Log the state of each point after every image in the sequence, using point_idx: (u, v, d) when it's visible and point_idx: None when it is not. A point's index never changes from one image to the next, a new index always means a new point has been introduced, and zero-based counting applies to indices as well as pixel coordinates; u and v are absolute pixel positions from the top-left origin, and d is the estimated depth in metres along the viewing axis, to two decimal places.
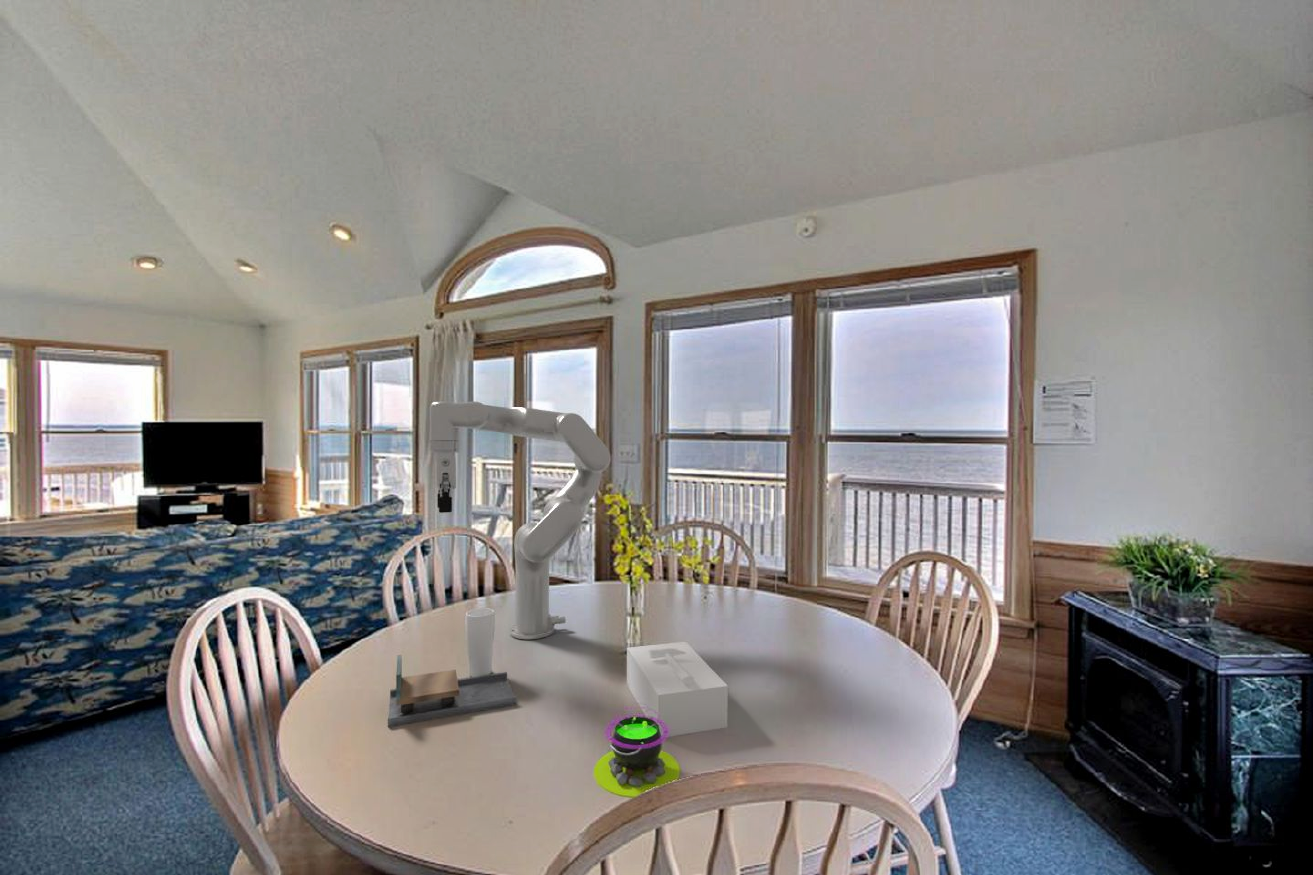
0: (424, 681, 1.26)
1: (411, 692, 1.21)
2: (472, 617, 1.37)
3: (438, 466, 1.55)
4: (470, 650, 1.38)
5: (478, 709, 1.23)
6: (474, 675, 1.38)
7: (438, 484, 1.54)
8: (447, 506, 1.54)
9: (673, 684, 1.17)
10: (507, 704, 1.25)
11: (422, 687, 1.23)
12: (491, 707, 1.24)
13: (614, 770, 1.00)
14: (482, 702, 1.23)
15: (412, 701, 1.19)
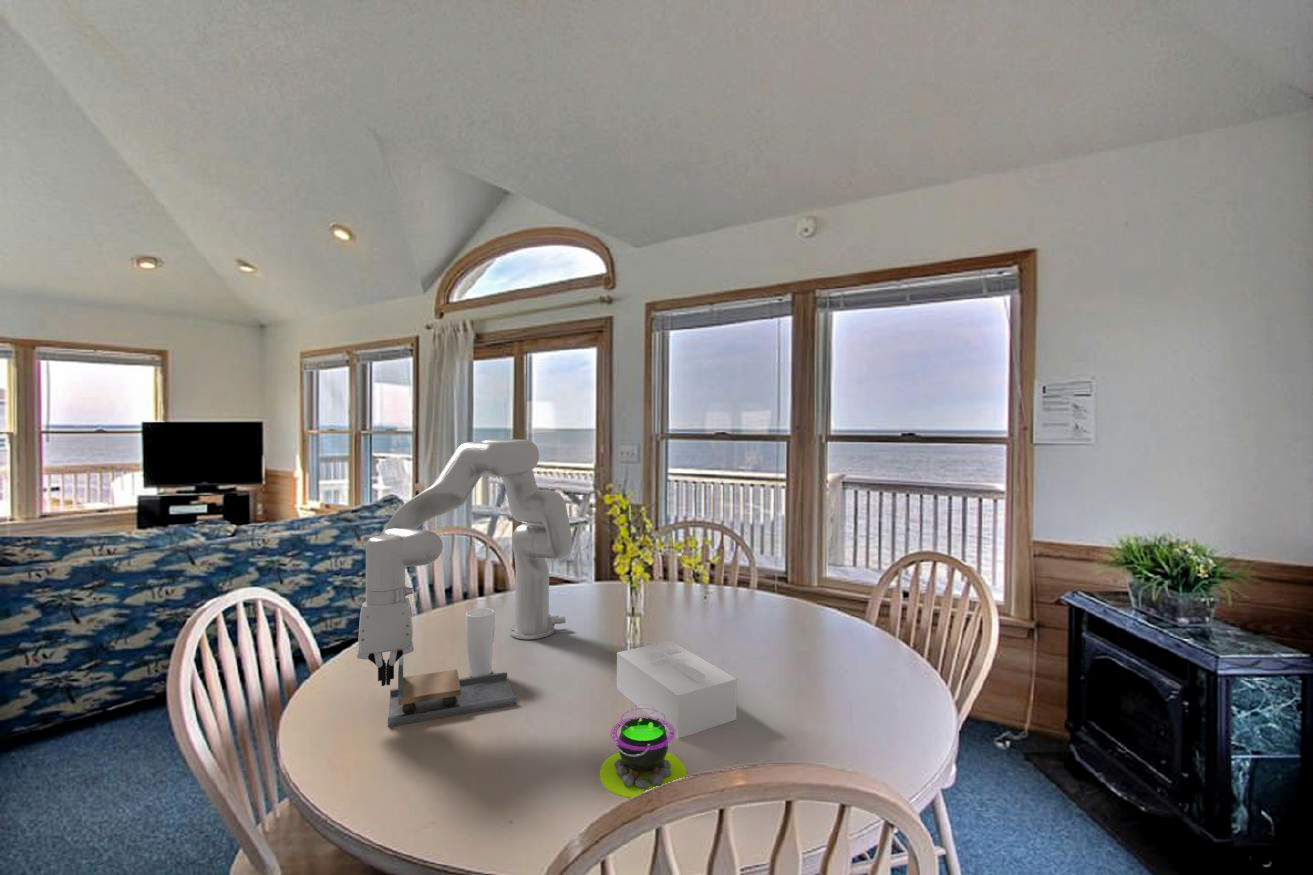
0: (426, 681, 1.26)
1: (413, 692, 1.21)
2: (472, 617, 1.37)
3: (409, 618, 1.22)
4: (469, 650, 1.38)
5: (478, 709, 1.23)
6: (474, 675, 1.38)
7: (410, 641, 1.22)
8: None
9: (685, 684, 1.17)
10: (507, 704, 1.25)
11: (424, 687, 1.24)
12: (491, 707, 1.24)
13: (620, 772, 0.99)
14: (482, 702, 1.23)
15: (414, 701, 1.19)
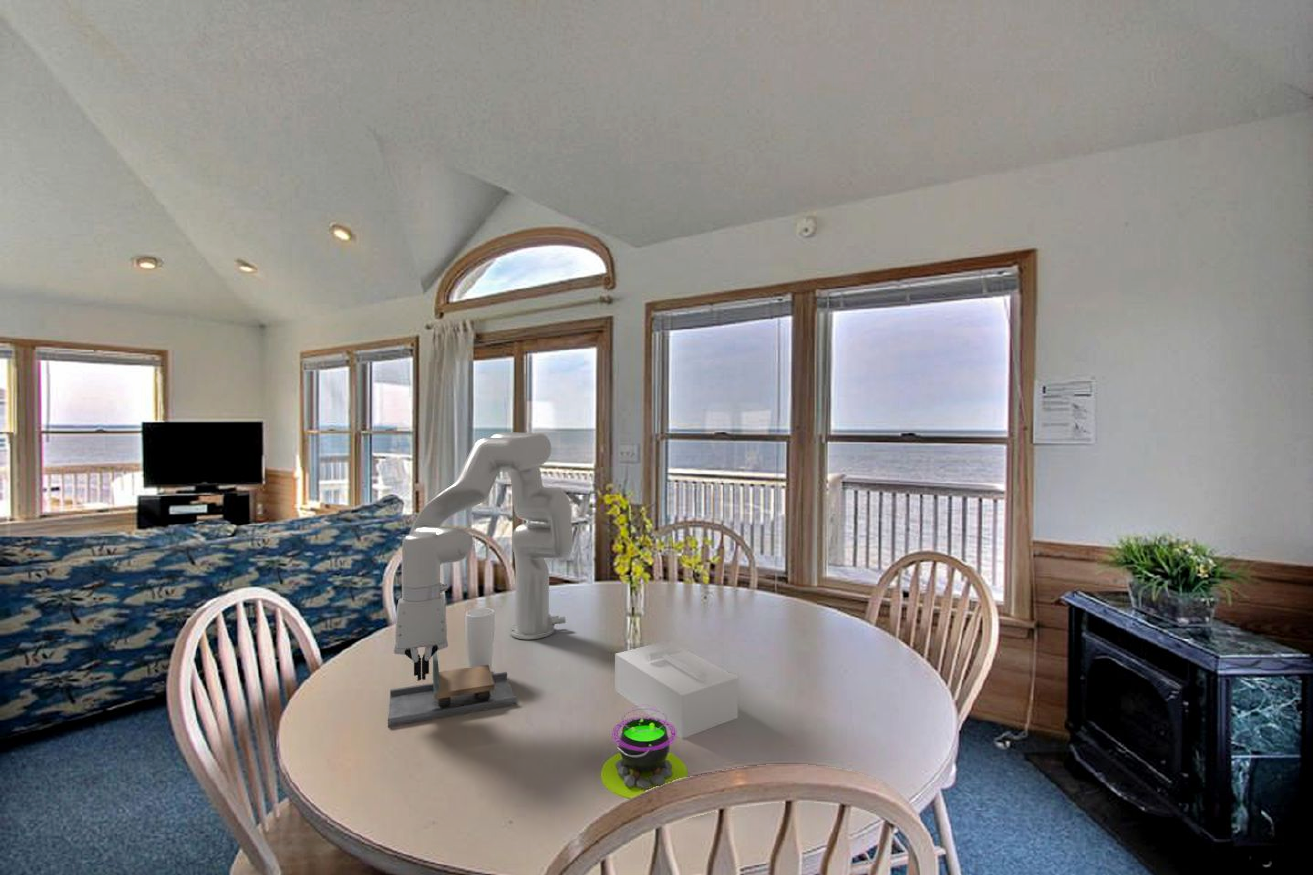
0: (459, 676, 1.29)
1: (448, 687, 1.24)
2: (472, 617, 1.37)
3: (444, 615, 1.25)
4: (469, 650, 1.38)
5: (478, 709, 1.23)
6: None
7: (445, 637, 1.25)
8: None
9: (688, 683, 1.17)
10: (507, 704, 1.25)
11: (458, 681, 1.26)
12: (491, 707, 1.24)
13: (621, 772, 0.99)
14: (482, 702, 1.23)
15: (449, 695, 1.22)
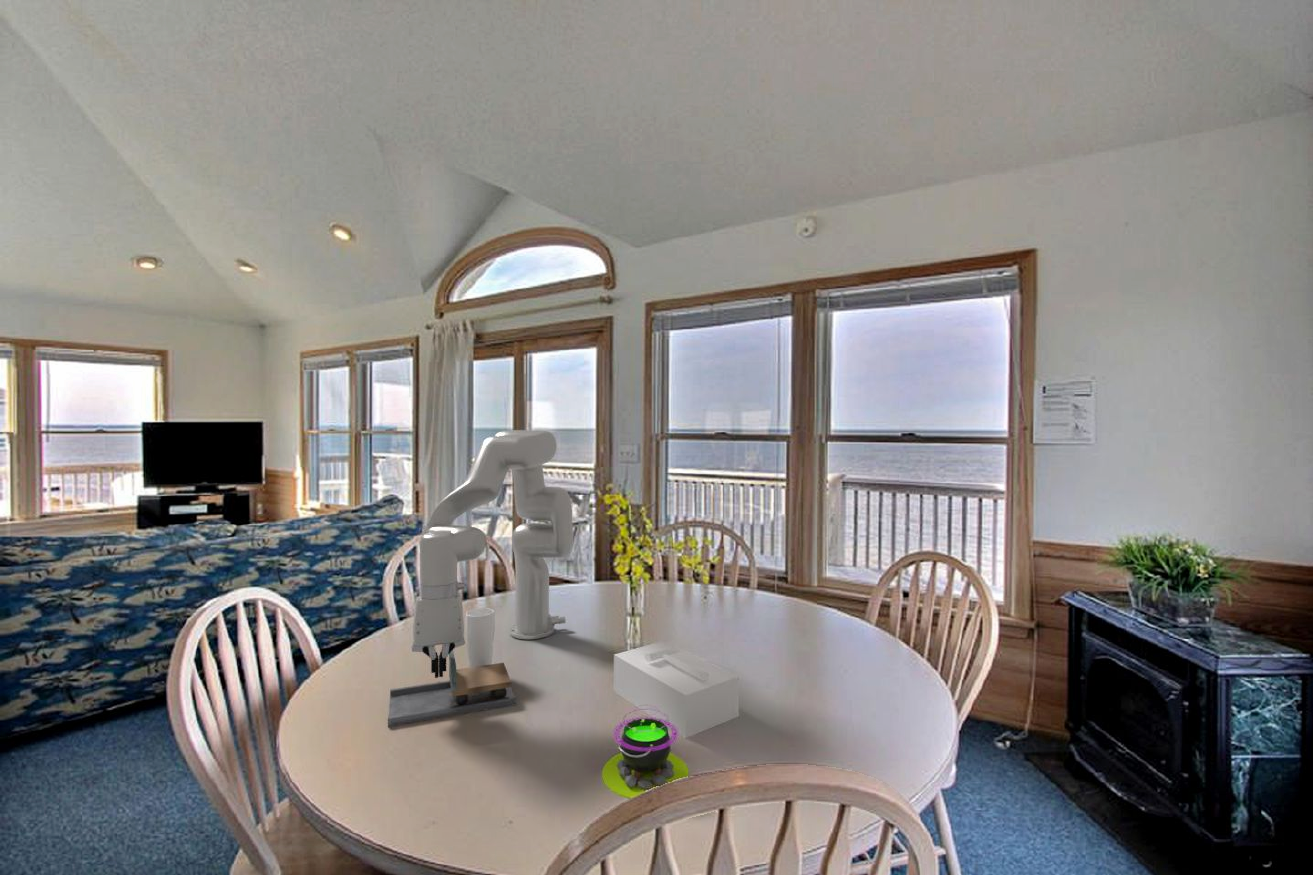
0: (476, 674, 1.30)
1: (465, 684, 1.25)
2: (472, 617, 1.38)
3: (461, 612, 1.26)
4: (470, 650, 1.38)
5: (478, 709, 1.23)
6: None
7: (462, 634, 1.26)
8: None
9: (690, 683, 1.17)
10: (507, 704, 1.25)
11: (475, 679, 1.27)
12: (491, 707, 1.24)
13: (623, 773, 0.99)
14: (482, 702, 1.23)
15: (467, 692, 1.23)
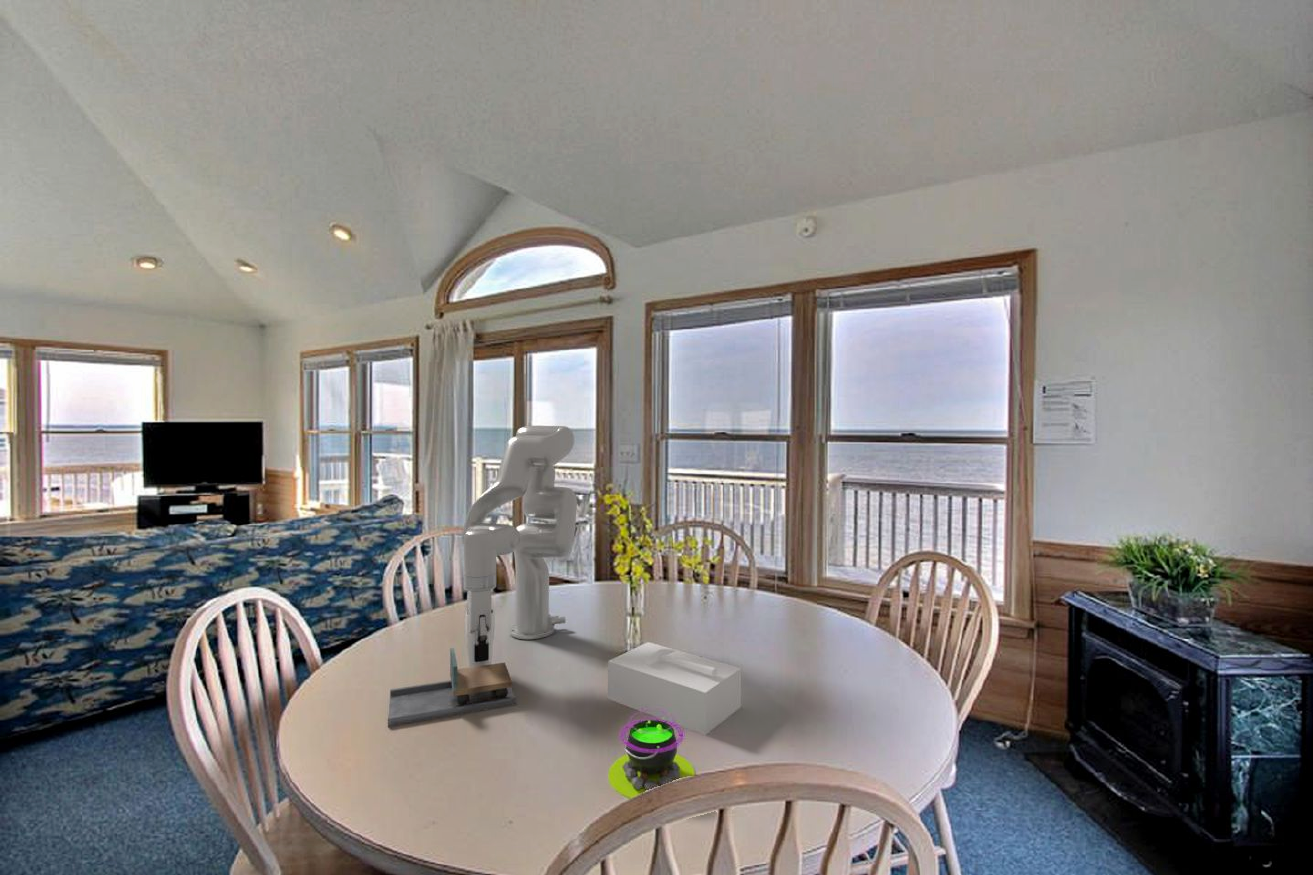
0: (477, 673, 1.30)
1: (466, 684, 1.25)
2: None
3: None
4: (469, 650, 1.38)
5: (478, 709, 1.23)
6: None
7: None
8: None
9: (702, 680, 1.19)
10: (507, 704, 1.25)
11: (476, 679, 1.28)
12: (491, 707, 1.24)
13: (629, 774, 0.98)
14: (482, 702, 1.23)
15: (468, 692, 1.23)
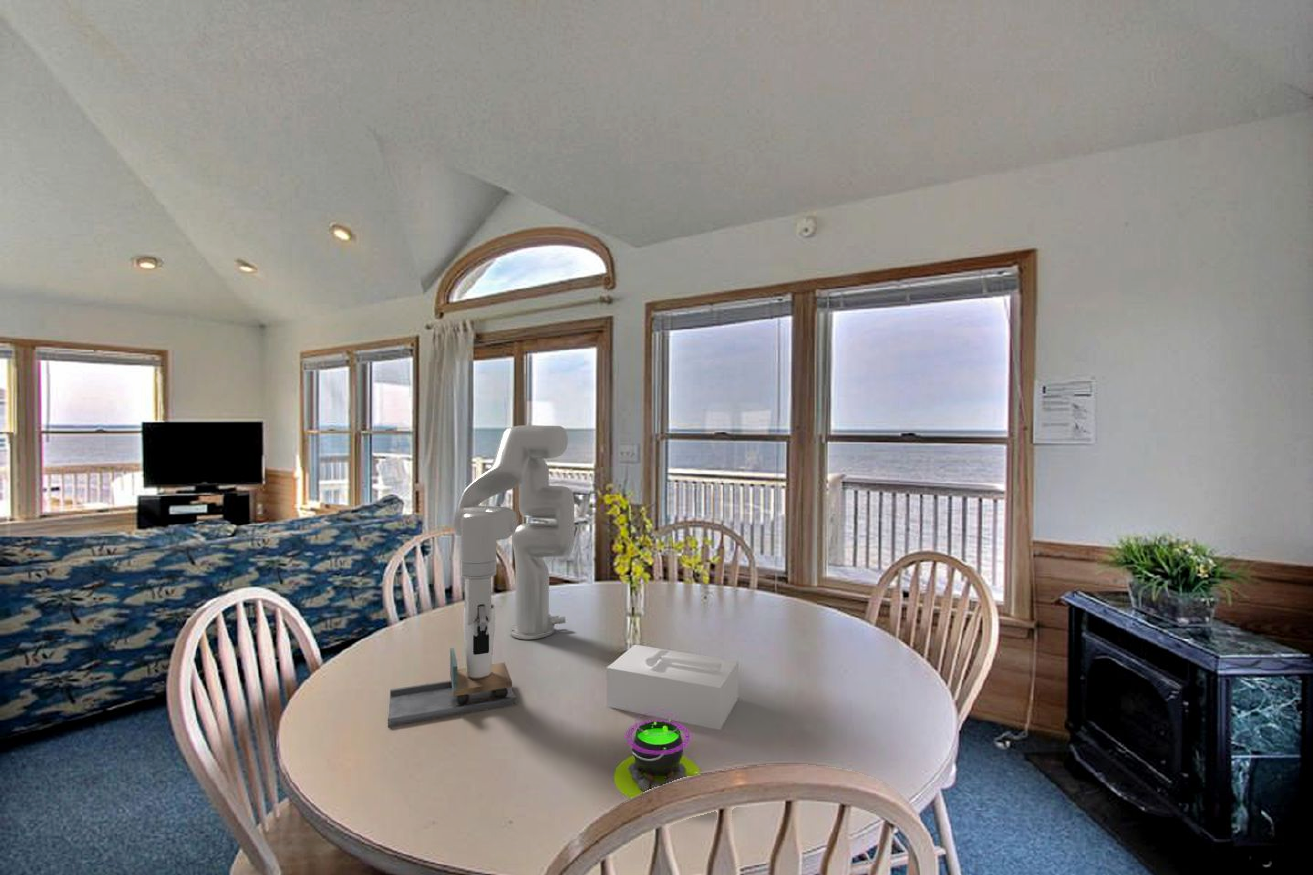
0: None
1: (466, 684, 1.25)
2: None
3: None
4: (468, 648, 1.27)
5: (478, 709, 1.23)
6: (473, 676, 1.27)
7: None
8: None
9: (710, 677, 1.21)
10: (507, 704, 1.25)
11: (476, 679, 1.28)
12: (491, 707, 1.24)
13: (635, 776, 0.98)
14: (482, 702, 1.23)
15: (468, 692, 1.23)
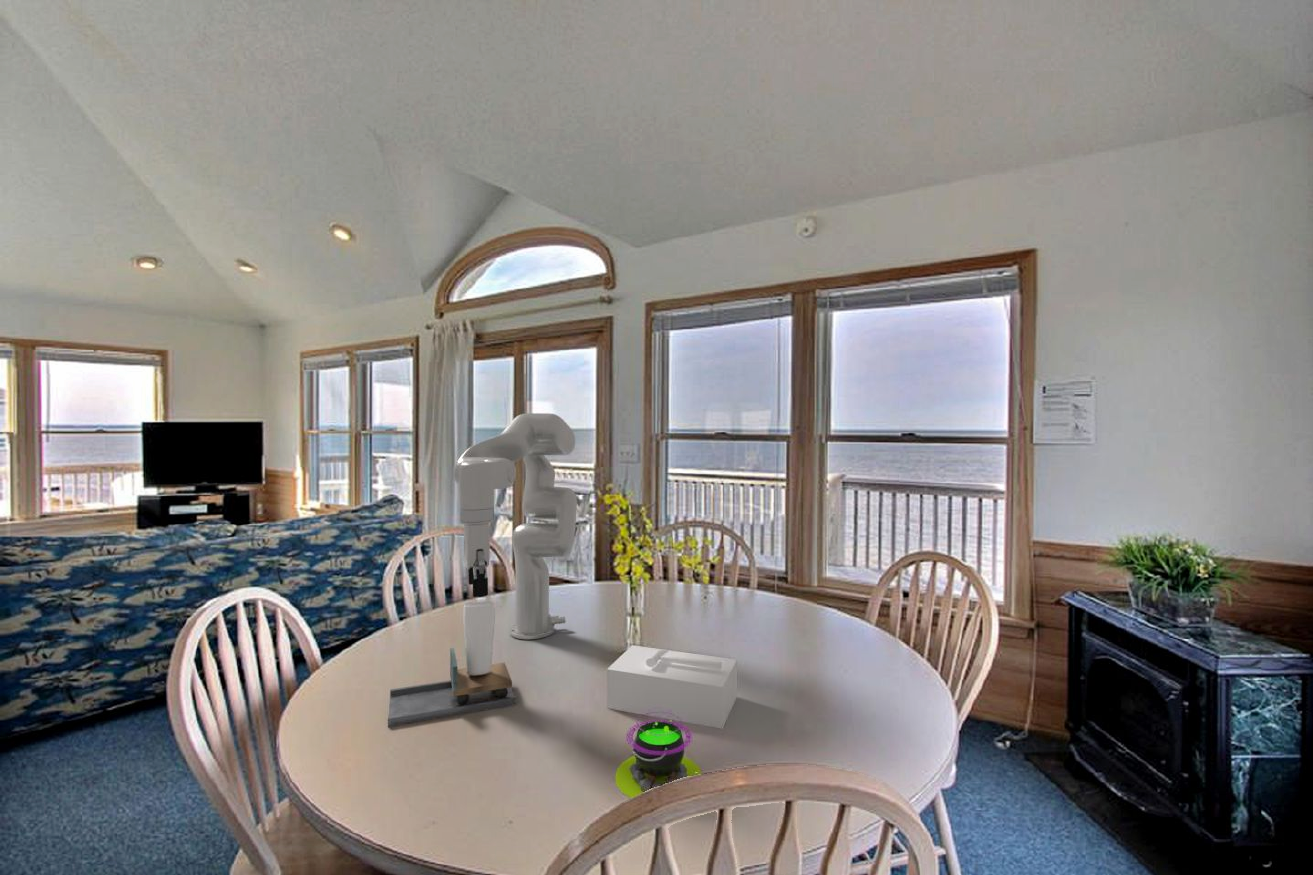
0: None
1: (466, 684, 1.25)
2: (470, 607, 1.29)
3: None
4: (468, 644, 1.28)
5: (478, 709, 1.23)
6: (472, 672, 1.27)
7: None
8: None
9: (711, 676, 1.21)
10: (507, 704, 1.25)
11: (476, 679, 1.28)
12: (491, 707, 1.24)
13: (637, 776, 0.98)
14: (482, 702, 1.23)
15: (468, 692, 1.23)
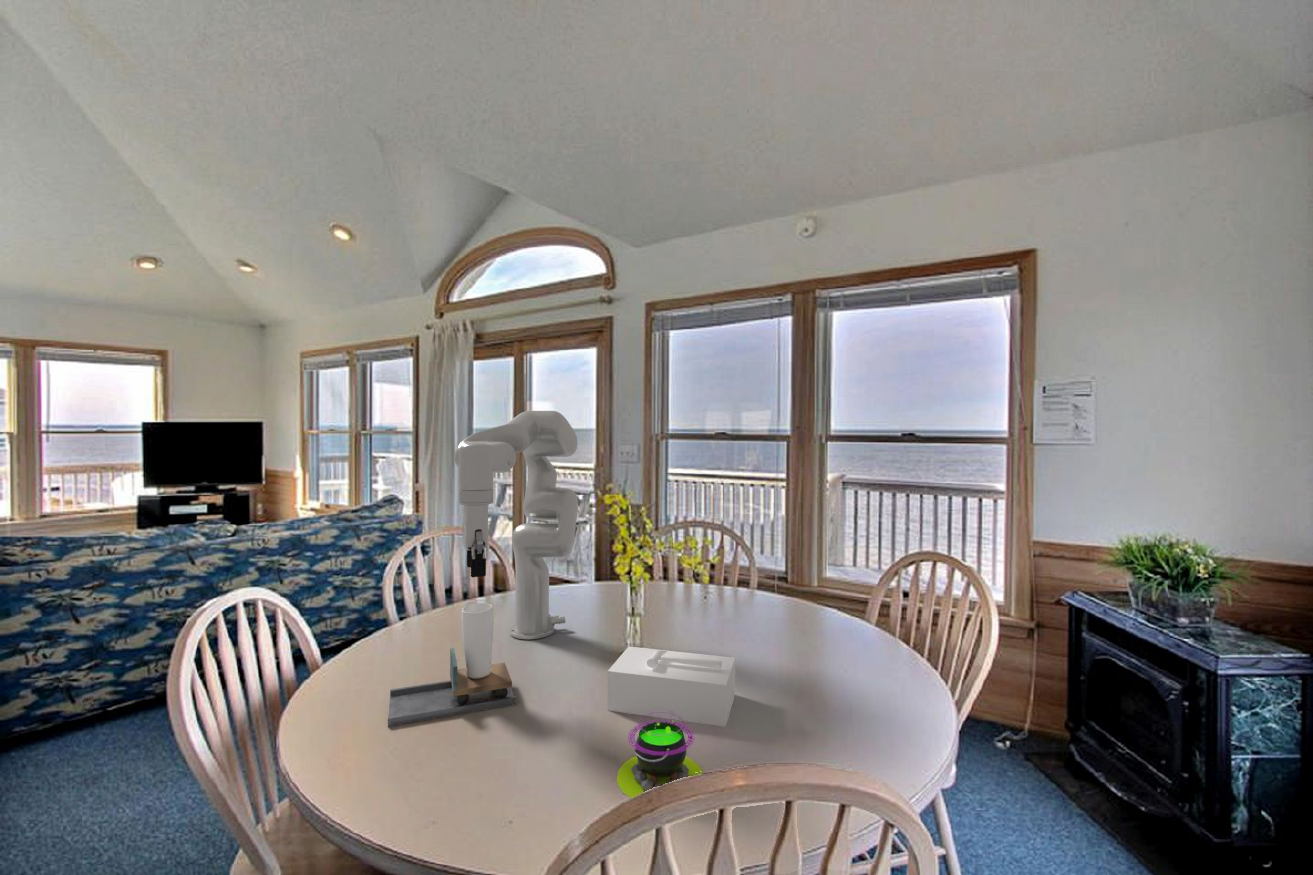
0: None
1: (466, 684, 1.25)
2: (468, 613, 1.26)
3: None
4: (467, 649, 1.27)
5: (478, 709, 1.23)
6: (472, 676, 1.27)
7: None
8: None
9: (712, 674, 1.22)
10: (507, 704, 1.25)
11: (476, 679, 1.28)
12: (491, 707, 1.24)
13: (638, 777, 0.98)
14: (482, 702, 1.23)
15: (468, 692, 1.23)
